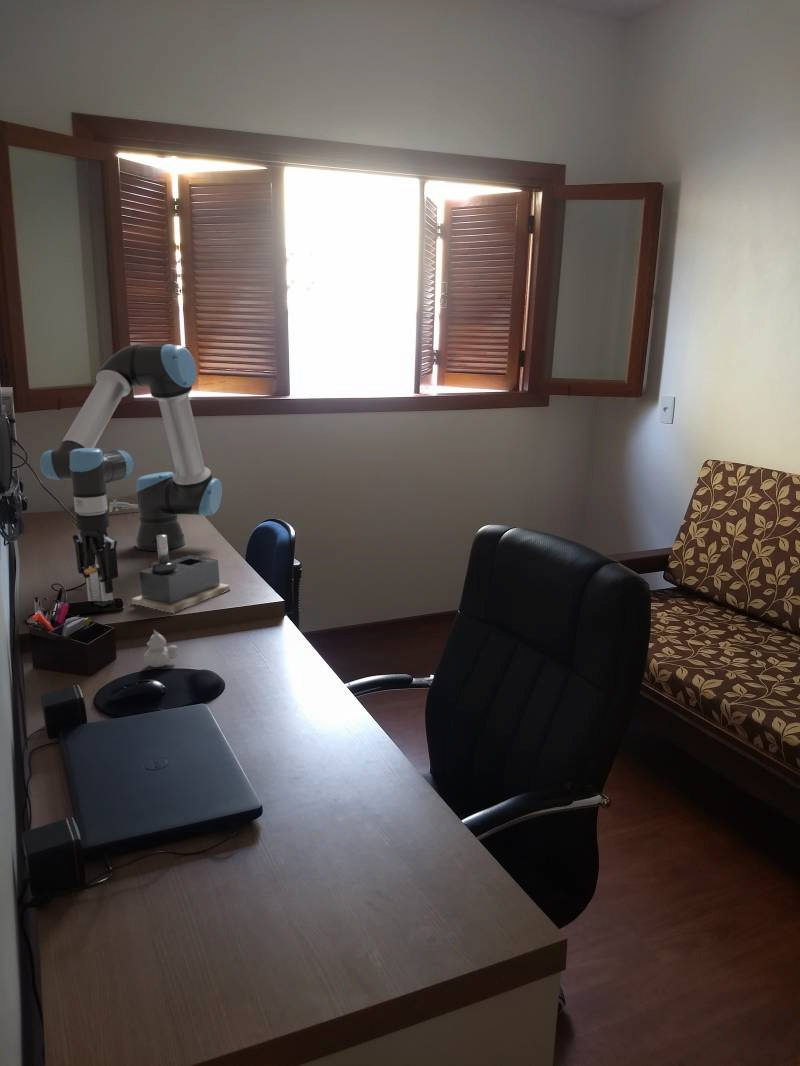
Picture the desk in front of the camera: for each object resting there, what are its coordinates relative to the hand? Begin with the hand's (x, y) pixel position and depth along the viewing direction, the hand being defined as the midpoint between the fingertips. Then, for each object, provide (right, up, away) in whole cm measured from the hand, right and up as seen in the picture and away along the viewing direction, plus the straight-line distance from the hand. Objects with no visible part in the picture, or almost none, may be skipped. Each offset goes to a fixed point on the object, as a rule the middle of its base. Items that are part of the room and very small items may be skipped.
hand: (100, 603), depth 192 cm
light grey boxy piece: (0, 0, 0) cm, 1 cm away
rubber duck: (+26, -10, -36) cm, 46 cm away
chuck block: (+19, +3, +4) cm, 20 cm away
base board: (+19, +1, +5) cm, 20 cm away
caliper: (-26, +25, +102) cm, 108 cm away
